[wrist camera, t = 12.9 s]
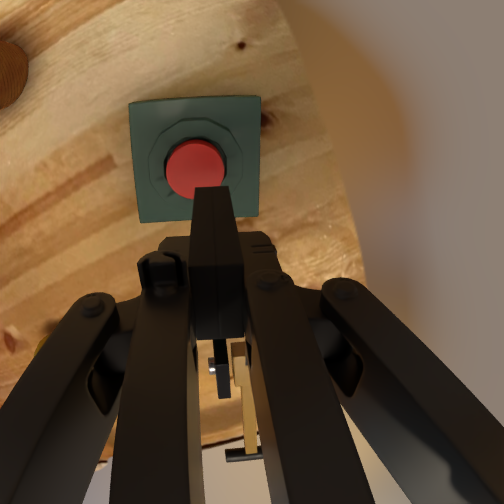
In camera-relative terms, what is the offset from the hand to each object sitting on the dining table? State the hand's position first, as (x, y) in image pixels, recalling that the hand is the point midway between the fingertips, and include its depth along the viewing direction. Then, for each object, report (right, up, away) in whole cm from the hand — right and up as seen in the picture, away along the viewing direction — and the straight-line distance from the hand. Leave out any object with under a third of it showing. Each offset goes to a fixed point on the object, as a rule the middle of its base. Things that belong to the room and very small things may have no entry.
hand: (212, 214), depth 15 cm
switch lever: (+1, -15, +12) cm, 20 cm away
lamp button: (-2, +5, +8) cm, 10 cm away
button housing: (-3, +6, +11) cm, 13 cm away
